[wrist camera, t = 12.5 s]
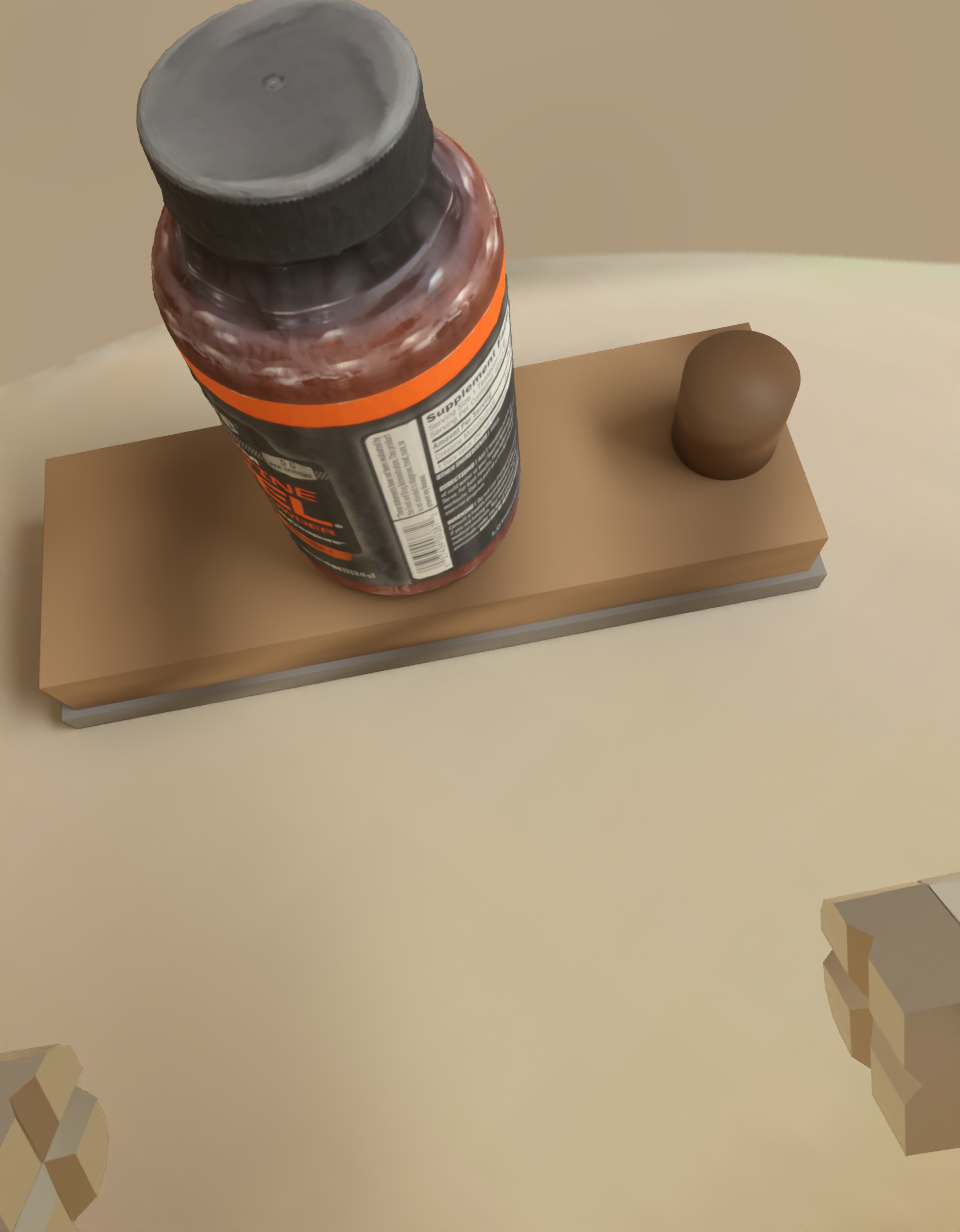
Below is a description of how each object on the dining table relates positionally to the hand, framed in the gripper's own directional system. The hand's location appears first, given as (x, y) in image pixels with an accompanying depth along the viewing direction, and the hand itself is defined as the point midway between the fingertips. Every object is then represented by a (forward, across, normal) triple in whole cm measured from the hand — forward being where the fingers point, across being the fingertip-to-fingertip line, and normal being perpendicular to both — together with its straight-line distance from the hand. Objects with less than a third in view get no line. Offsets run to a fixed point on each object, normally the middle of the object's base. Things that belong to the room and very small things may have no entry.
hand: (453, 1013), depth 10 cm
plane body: (+17, 0, 0) cm, 17 cm away
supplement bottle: (+15, 0, -2) cm, 15 cm away
